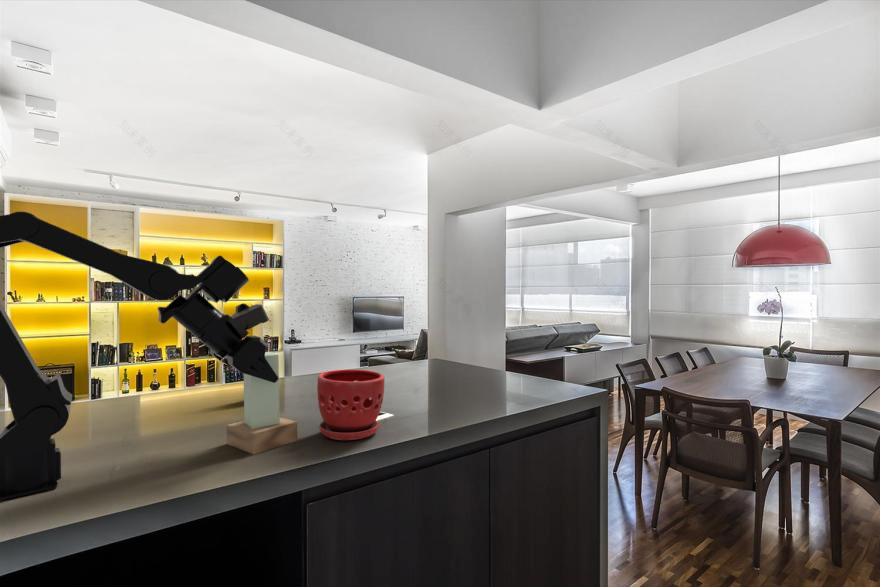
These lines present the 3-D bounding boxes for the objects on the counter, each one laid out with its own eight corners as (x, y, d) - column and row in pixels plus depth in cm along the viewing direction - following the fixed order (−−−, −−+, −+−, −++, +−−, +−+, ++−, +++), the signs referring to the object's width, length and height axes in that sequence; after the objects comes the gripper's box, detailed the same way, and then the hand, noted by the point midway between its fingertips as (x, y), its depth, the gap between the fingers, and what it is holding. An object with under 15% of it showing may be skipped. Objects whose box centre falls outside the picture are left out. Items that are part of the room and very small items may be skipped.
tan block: (254, 456, 80) (253, 433, 80) (226, 446, 86) (226, 425, 86) (297, 442, 88) (297, 421, 88) (269, 434, 93) (269, 414, 93)
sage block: (251, 429, 83) (250, 357, 83) (244, 422, 87) (243, 354, 87) (279, 423, 86) (278, 354, 86) (271, 417, 90) (270, 351, 90)
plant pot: (322, 448, 83) (322, 382, 83) (313, 428, 95) (313, 370, 95) (392, 440, 88) (392, 377, 88) (375, 421, 100) (375, 366, 100)
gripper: (254, 289, 77) (317, 350, 83) (227, 289, 91) (283, 341, 98) (202, 339, 72) (274, 399, 79) (182, 331, 87) (244, 382, 93)
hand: (269, 377), depth 87 cm, fingers open, 8 cm apart
